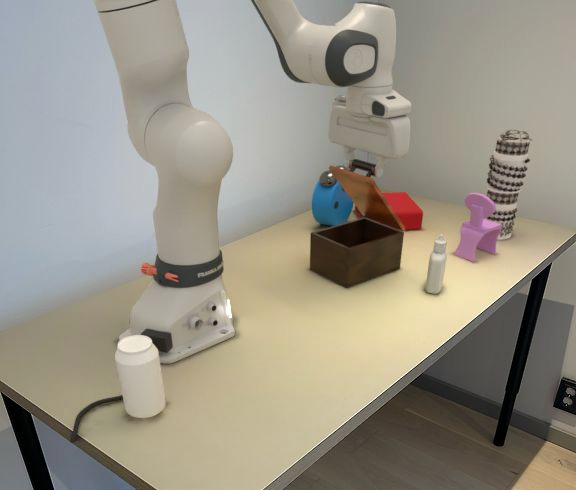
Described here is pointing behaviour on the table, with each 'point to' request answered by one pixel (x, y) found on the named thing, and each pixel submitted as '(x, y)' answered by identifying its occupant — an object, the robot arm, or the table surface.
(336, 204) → the alarm clock
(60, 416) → the table surface
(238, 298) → the table surface
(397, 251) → the chest
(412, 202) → the red device housing
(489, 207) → the toy chair
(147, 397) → the beverage can
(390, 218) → the lid
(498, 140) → the decorative candle
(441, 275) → the eye dropper bottle
